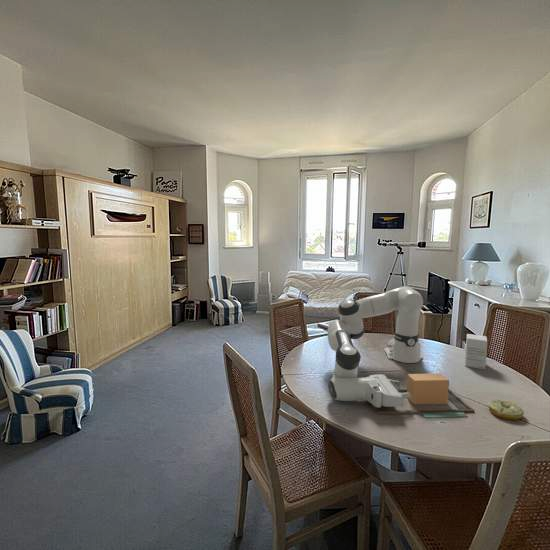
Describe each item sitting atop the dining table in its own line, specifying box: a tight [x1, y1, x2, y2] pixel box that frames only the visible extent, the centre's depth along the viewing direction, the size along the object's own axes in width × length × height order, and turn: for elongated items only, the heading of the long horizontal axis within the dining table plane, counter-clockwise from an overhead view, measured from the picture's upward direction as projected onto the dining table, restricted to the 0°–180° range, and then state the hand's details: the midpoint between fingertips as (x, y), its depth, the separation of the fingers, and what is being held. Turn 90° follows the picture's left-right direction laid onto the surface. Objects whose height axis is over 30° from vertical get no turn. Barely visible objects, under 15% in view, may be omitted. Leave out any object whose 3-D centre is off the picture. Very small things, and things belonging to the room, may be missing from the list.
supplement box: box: [464, 333, 488, 370], centre depth 165 cm, size 9×9×15 cm
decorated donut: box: [487, 399, 525, 421], centre depth 120 cm, size 10×11×4 cm
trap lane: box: [371, 385, 476, 419], centre depth 130 cm, size 24×37×1 cm, turn 91°
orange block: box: [406, 373, 450, 405], centre depth 130 cm, size 6×14×10 cm, turn 91°
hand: (404, 388), depth 129 cm, fingers open, 8 cm apart
